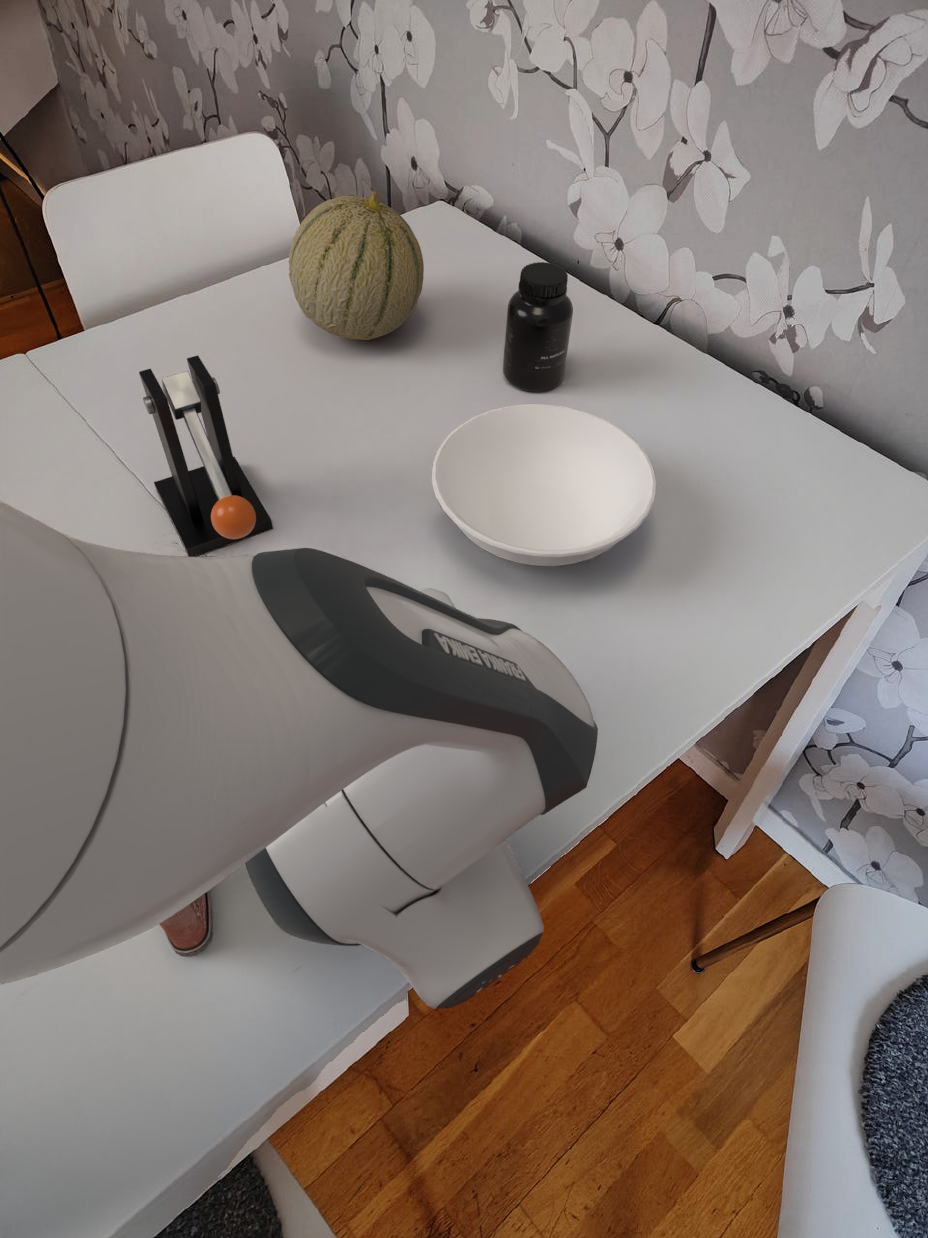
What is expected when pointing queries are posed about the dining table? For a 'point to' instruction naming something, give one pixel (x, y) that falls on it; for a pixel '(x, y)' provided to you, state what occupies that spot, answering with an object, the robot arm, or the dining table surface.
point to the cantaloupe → (356, 267)
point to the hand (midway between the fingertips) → (286, 603)
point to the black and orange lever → (192, 490)
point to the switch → (209, 460)
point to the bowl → (543, 483)
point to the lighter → (191, 927)
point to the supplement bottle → (538, 328)
